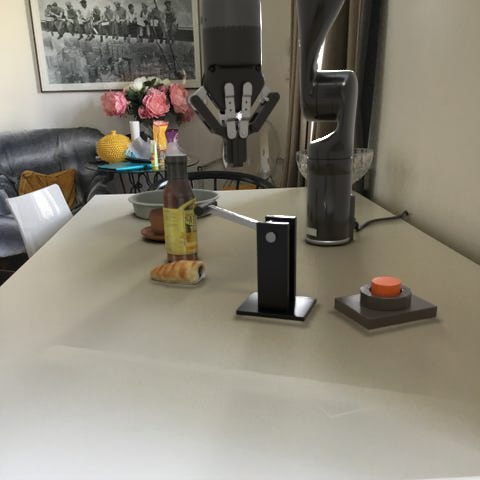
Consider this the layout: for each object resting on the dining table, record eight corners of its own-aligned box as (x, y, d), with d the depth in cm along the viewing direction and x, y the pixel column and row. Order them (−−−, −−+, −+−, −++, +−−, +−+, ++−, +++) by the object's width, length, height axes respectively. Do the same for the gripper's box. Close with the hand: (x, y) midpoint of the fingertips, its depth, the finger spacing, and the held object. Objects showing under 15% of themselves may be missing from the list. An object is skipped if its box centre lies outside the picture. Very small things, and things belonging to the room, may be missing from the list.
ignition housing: (397, 300, 86) (399, 275, 85) (436, 321, 79) (439, 293, 77) (333, 312, 83) (334, 286, 81) (368, 334, 75) (370, 306, 73)
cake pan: (218, 220, 142) (217, 202, 140) (121, 223, 143) (119, 205, 141) (222, 202, 165) (221, 186, 163) (138, 204, 165) (137, 189, 164)
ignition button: (389, 286, 82) (389, 275, 81) (406, 295, 78) (407, 283, 78) (365, 290, 80) (365, 278, 80) (381, 299, 77) (382, 287, 76)
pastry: (145, 286, 96) (143, 264, 95) (158, 274, 102) (157, 254, 101) (198, 289, 94) (197, 266, 93) (209, 276, 100) (208, 255, 99)
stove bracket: (236, 318, 82) (232, 224, 76) (253, 300, 88) (251, 212, 83) (303, 326, 78) (305, 227, 73) (316, 306, 85) (318, 215, 80)
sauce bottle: (193, 265, 107) (187, 156, 99) (162, 264, 108) (153, 156, 100) (202, 256, 113) (197, 152, 105) (172, 255, 114) (165, 152, 106)
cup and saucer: (131, 242, 124) (128, 214, 122) (158, 230, 135) (156, 204, 132) (179, 246, 120) (177, 217, 118) (203, 233, 130) (202, 206, 128)
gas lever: (191, 217, 79) (195, 201, 78) (207, 209, 84) (210, 194, 83) (278, 248, 77) (283, 232, 76) (289, 238, 81) (293, 223, 80)
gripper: (188, 22, 66) (197, 173, 73) (291, 22, 70) (291, 166, 77) (172, 28, 73) (182, 167, 79) (267, 28, 77) (269, 160, 83)
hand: (235, 166), depth 78 cm, fingers closed
